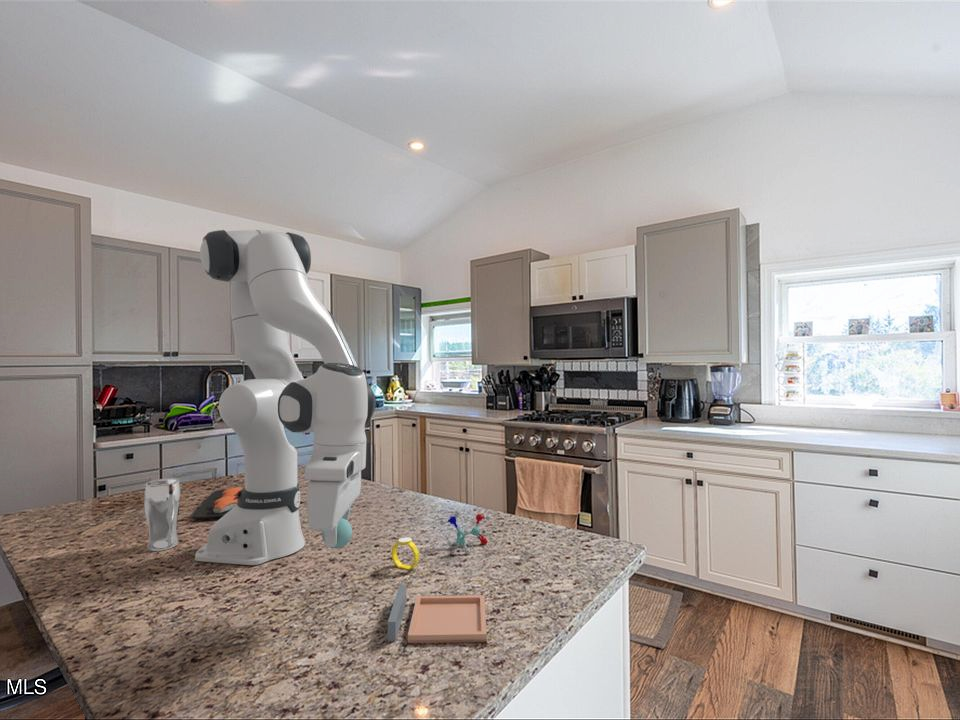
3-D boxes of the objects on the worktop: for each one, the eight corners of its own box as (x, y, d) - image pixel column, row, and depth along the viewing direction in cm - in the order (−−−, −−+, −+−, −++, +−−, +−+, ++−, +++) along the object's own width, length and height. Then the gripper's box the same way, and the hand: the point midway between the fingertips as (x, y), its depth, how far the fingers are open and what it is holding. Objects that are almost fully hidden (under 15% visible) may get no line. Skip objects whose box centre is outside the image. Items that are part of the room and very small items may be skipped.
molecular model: (485, 544, 102) (467, 500, 106) (448, 563, 103) (432, 519, 107) (501, 541, 112) (485, 501, 116) (467, 558, 114) (452, 518, 118)
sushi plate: (214, 495, 154) (214, 483, 154) (312, 488, 163) (312, 476, 163) (189, 525, 126) (189, 510, 126) (309, 514, 135) (309, 500, 135)
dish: (407, 643, 72) (407, 635, 72) (416, 602, 84) (416, 596, 84) (486, 642, 72) (486, 634, 72) (484, 601, 84) (484, 595, 84)
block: (387, 641, 73) (387, 621, 73) (399, 601, 85) (399, 584, 85) (395, 641, 73) (395, 621, 73) (406, 601, 85) (406, 584, 85)
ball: (317, 553, 79) (318, 523, 79) (326, 541, 84) (327, 513, 84) (347, 553, 80) (348, 524, 80) (354, 542, 85) (355, 514, 85)
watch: (390, 569, 99) (388, 540, 99) (398, 564, 101) (396, 535, 101) (414, 572, 96) (412, 542, 96) (421, 567, 98) (420, 538, 99)
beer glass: (187, 543, 112) (187, 479, 112) (156, 554, 106) (156, 487, 106) (168, 538, 115) (168, 476, 115) (137, 549, 109) (137, 483, 109)
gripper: (337, 445, 92) (335, 516, 92) (300, 471, 72) (297, 563, 72) (370, 446, 92) (367, 517, 92) (342, 473, 72) (339, 564, 72)
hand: (336, 537), depth 82 cm, fingers closed on ball, 5 cm apart
